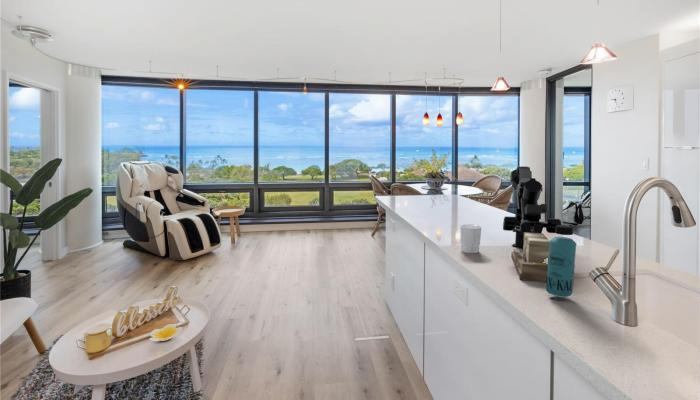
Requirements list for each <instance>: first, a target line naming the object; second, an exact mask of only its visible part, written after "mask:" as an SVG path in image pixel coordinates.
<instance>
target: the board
mask: <svg viewBox="0 0 700 400" xmlns="http://www.w3.org/2000/svg"><path fill="white" fill-rule="evenodd" d="M510 257H511V260H512V262H513V266H514V267H515V270H516V273H517V276H518V278H519V280H520V281H528V282H529V281H531V282H538V283H539V282H540V283H541V282H542V283H546V278H547V271H548V264H546V263H533V262H532V263H529V262H525V261H524V259H523V251H521V252H520V250H519V248H513V251H511V256H510Z"/></svg>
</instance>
